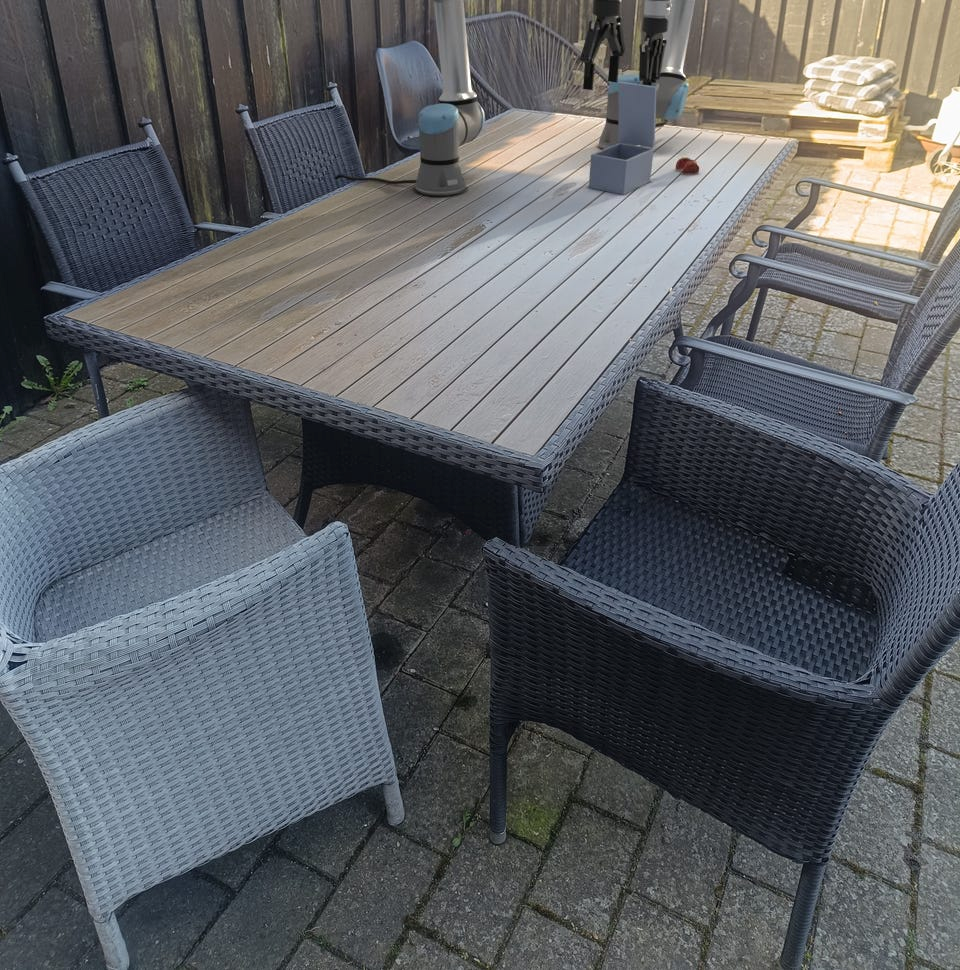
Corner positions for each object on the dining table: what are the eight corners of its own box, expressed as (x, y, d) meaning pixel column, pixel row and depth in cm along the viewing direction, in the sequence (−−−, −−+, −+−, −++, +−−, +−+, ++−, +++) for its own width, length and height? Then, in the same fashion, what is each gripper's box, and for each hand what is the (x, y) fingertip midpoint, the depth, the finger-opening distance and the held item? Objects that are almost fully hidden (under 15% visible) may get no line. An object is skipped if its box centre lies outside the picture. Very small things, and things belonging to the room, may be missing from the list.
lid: (655, 87, 247) (669, 76, 251) (618, 82, 253) (632, 72, 257) (653, 147, 259) (666, 136, 264) (618, 141, 265) (632, 130, 270)
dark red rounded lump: (690, 153, 276) (701, 160, 269) (689, 167, 278) (700, 174, 272) (674, 155, 275) (685, 162, 268) (673, 169, 277) (684, 175, 271)
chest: (623, 194, 254) (626, 161, 249) (588, 187, 260) (591, 154, 255) (650, 181, 266) (653, 148, 260) (616, 174, 272) (619, 142, 266)
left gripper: (596, 3, 212) (589, 94, 224) (642, -6, 228) (633, 80, 241) (570, 1, 216) (565, 90, 228) (618, -8, 232) (611, 77, 244)
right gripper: (655, 20, 238) (646, 109, 252) (679, 14, 248) (669, 100, 262) (632, 18, 242) (624, 106, 256) (656, 12, 252) (647, 97, 266)
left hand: (600, 85), depth 234 cm, fingers open, 13 cm apart
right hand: (647, 103), depth 259 cm, fingers closed on lid, 2 cm apart
